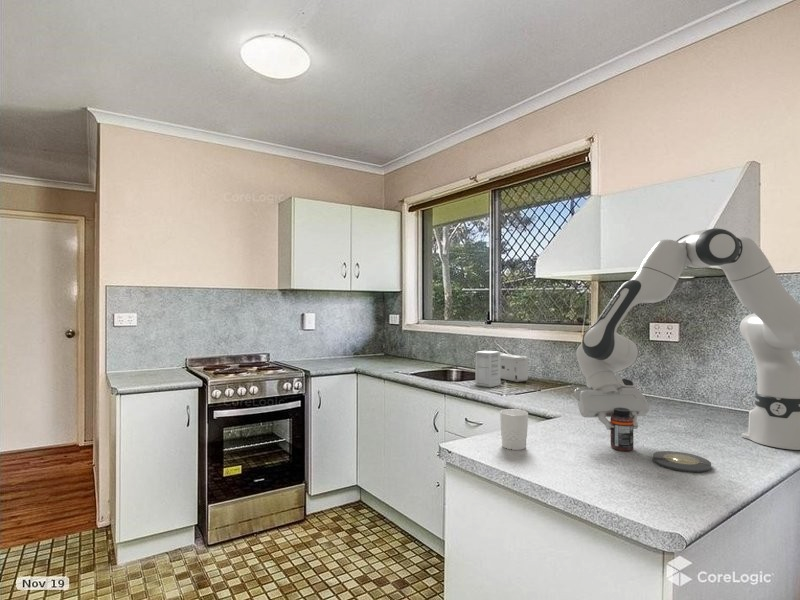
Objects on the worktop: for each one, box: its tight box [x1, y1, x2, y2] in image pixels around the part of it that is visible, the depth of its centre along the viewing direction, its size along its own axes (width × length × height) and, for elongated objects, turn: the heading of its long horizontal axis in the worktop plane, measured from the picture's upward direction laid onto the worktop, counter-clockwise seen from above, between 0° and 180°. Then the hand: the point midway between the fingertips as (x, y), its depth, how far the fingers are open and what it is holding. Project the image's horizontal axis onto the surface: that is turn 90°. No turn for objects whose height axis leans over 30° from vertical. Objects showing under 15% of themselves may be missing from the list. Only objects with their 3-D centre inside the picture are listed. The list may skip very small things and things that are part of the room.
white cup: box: [499, 408, 529, 451], centre depth 136 cm, size 8×8×10 cm
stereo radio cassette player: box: [493, 340, 529, 383], centre depth 253 cm, size 21×8×20 cm, turn 30°
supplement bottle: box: [610, 408, 634, 452], centre depth 134 cm, size 6×6×11 cm
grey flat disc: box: [652, 450, 712, 474], centre depth 121 cm, size 13×13×1 cm
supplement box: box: [474, 350, 502, 388], centre depth 235 cm, size 10×9×17 cm
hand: (623, 428), depth 133 cm, fingers closed on supplement bottle, 6 cm apart
